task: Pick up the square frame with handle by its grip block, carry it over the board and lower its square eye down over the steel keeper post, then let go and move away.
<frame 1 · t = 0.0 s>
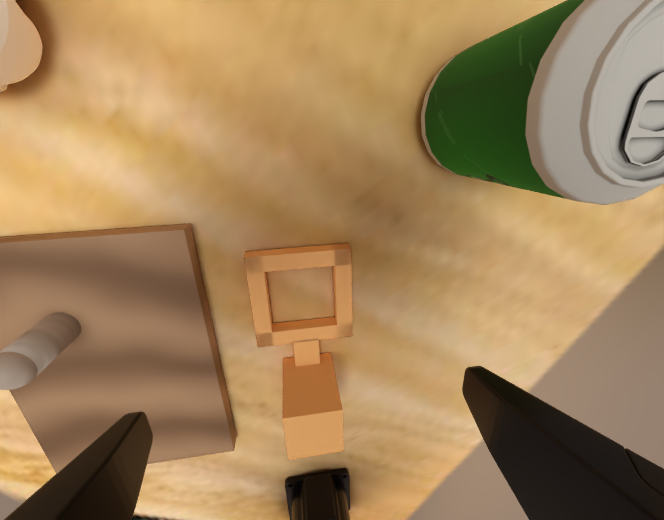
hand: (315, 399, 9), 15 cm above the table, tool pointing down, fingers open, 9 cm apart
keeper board: (123, 356, 24), on the table
square frame with handle: (308, 373, 27), on the table
soda can: (466, 115, 21), on the table
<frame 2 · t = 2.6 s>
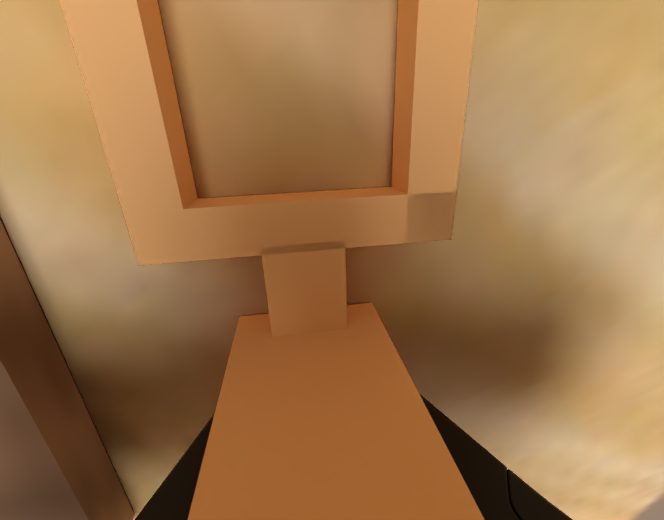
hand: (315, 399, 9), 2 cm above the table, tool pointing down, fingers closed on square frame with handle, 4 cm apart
square frame with handle: (311, 362, 10), on the table, touching gripper
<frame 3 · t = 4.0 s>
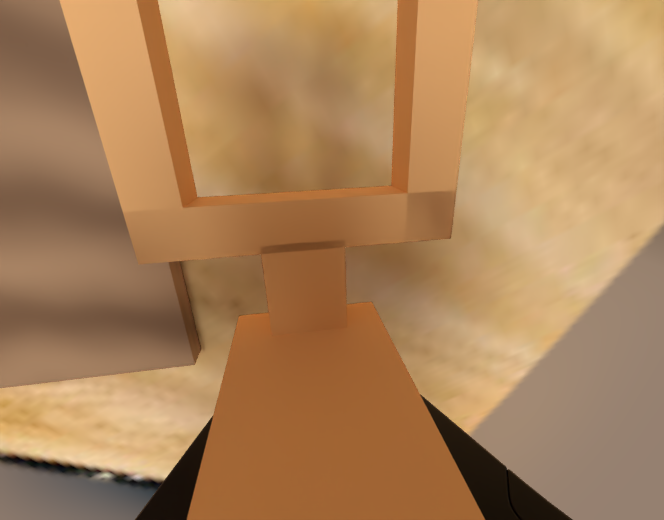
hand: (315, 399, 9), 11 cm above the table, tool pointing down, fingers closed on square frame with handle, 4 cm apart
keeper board: (22, 207, 16), on the table
square frame with handle: (311, 361, 10), point 10 cm above the table, touching gripper
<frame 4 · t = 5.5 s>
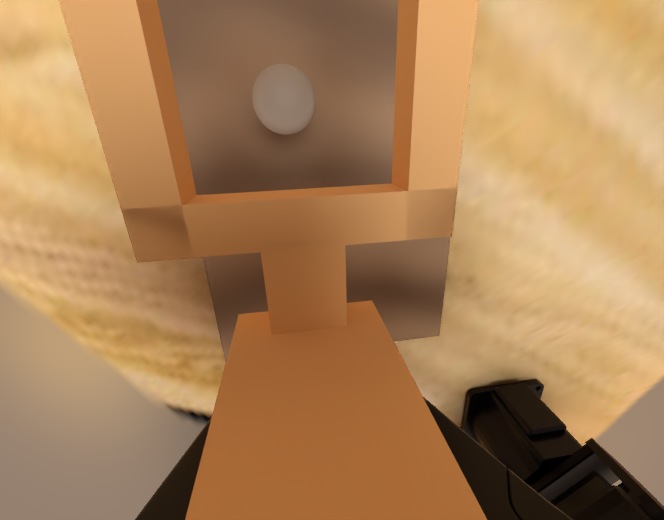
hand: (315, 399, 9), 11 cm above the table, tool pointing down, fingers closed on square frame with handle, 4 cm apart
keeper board: (326, 188, 18), on the table
square frame with handle: (311, 360, 10), point 10 cm above the table, touching gripper
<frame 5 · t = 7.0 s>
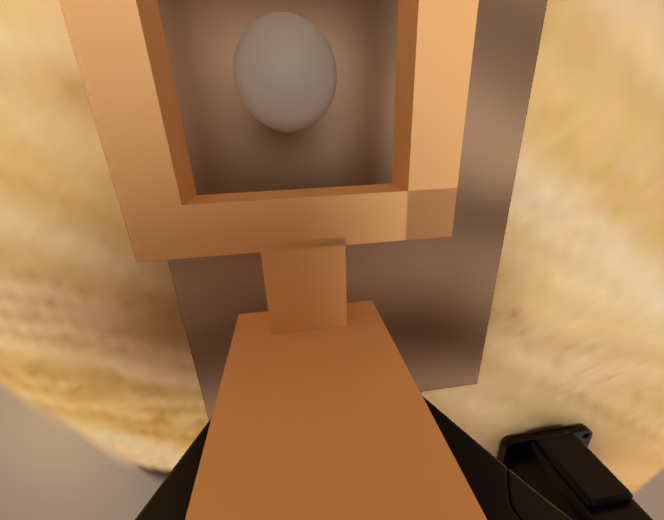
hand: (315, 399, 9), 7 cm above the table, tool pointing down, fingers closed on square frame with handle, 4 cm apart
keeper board: (340, 203, 13), on the table
square frame with handle: (311, 360, 10), point 5 cm above the table, touching gripper
when the fingers open (4 cm above the table, at t = 8.3 s): square frame with handle stays where it is, resting on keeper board.
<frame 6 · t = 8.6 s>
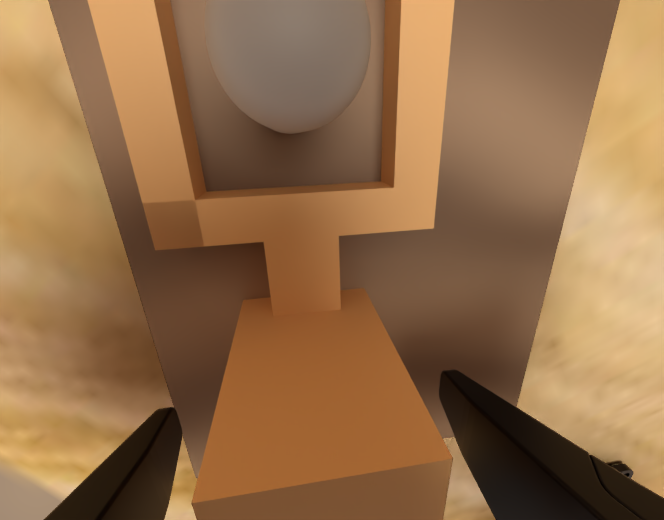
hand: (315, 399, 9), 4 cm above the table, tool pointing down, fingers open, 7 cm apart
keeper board: (353, 219, 11), on the table
square frame with handle: (308, 343, 11), point 1 cm above the table, touching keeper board
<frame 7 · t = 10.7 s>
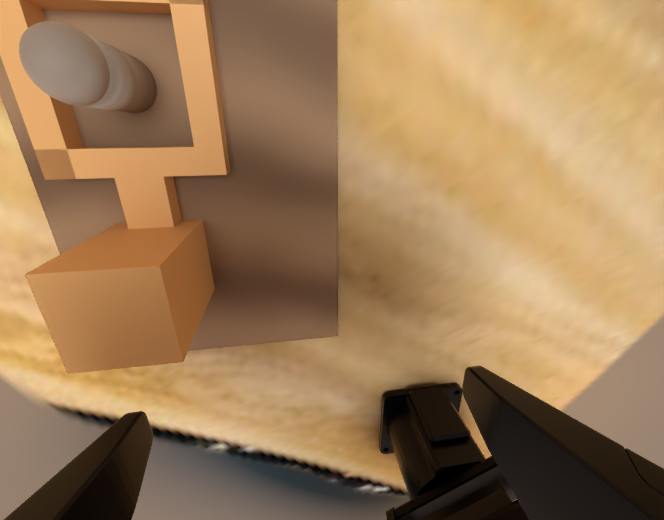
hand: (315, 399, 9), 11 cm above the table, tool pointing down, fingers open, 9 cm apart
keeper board: (202, 175, 16), on the table
square frame with handle: (169, 258, 16), point 1 cm above the table, touching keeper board
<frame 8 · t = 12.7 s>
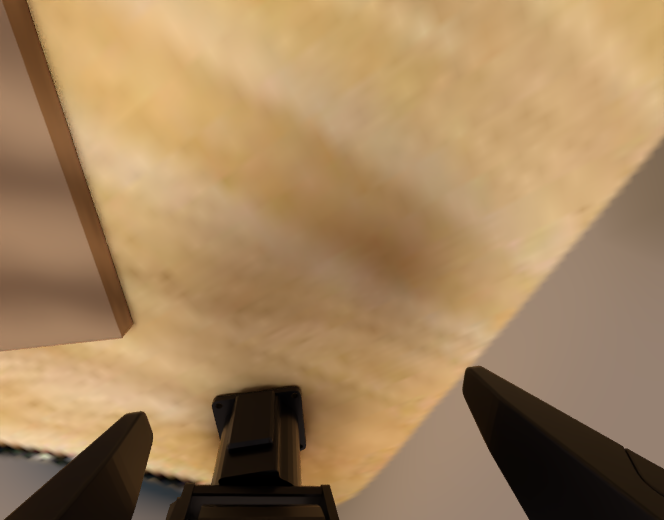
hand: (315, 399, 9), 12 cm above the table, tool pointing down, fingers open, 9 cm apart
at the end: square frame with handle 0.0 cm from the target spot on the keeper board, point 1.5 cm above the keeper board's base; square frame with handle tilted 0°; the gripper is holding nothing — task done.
